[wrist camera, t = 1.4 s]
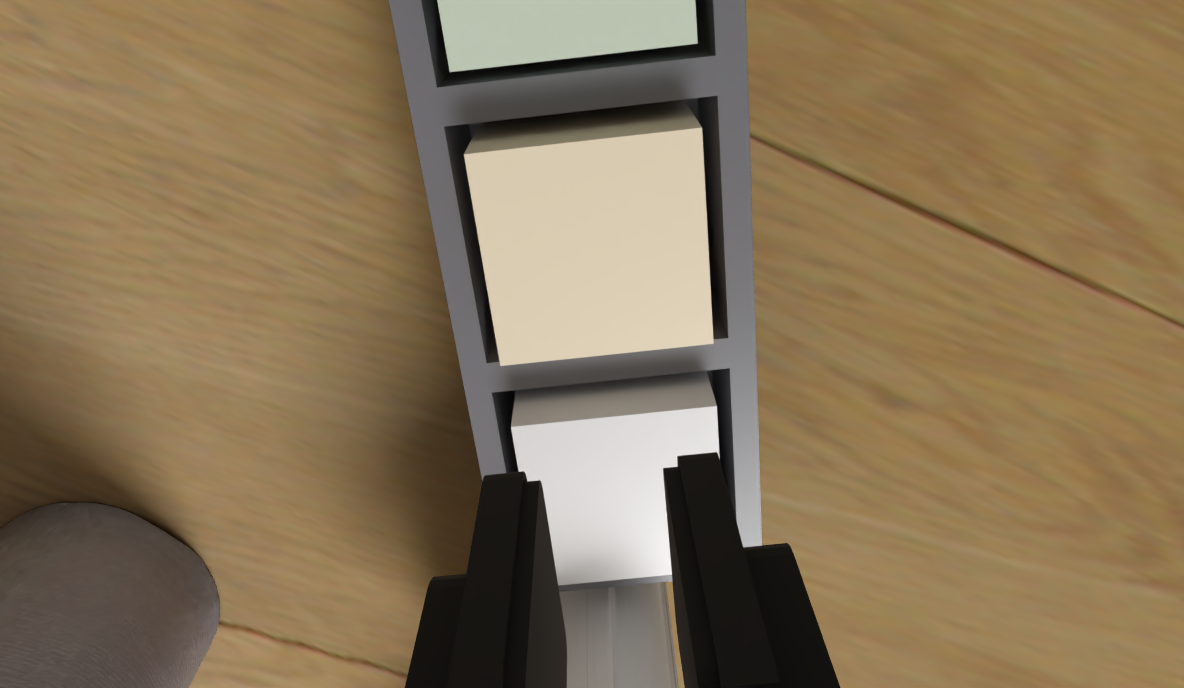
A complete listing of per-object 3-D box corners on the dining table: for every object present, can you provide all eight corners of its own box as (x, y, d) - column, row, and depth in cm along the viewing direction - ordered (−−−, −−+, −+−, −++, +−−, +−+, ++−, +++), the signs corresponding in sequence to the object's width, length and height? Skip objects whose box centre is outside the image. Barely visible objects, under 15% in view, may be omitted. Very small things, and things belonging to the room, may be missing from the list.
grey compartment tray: (702, -275, 24) (735, -330, 19) (735, 479, 34) (762, 572, 29) (384, -234, 24) (334, -278, 19) (515, 501, 34) (504, 597, 30)
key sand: (684, 99, 25) (702, 127, 22) (695, 290, 28) (713, 344, 24) (480, 123, 25) (463, 154, 22) (510, 310, 28) (500, 366, 24)
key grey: (699, 346, 29) (716, 405, 25) (708, 495, 31) (725, 569, 28) (519, 365, 29) (510, 427, 25) (542, 512, 31) (538, 587, 28)
